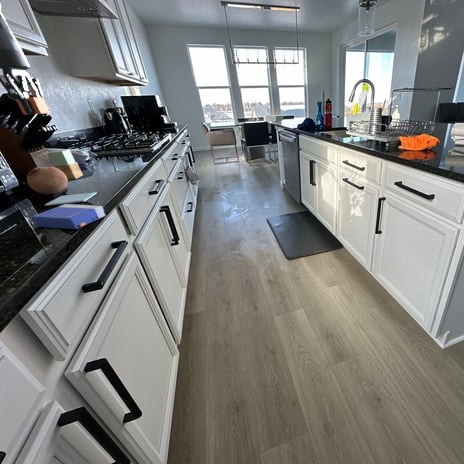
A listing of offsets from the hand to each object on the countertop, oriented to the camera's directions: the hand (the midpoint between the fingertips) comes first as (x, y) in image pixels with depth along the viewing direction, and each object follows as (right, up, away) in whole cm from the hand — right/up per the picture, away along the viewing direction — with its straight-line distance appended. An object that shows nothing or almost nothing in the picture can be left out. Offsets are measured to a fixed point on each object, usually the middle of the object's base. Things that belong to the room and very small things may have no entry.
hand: (37, 113), depth 81 cm
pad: (+15, -28, -4) cm, 32 cm away
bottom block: (-8, -17, +21) cm, 28 cm away
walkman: (+24, -34, -18) cm, 45 cm away
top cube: (0, 0, 0) cm, 0 cm away
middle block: (-9, -12, +18) cm, 23 cm away
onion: (+3, -26, +3) cm, 26 cm away
